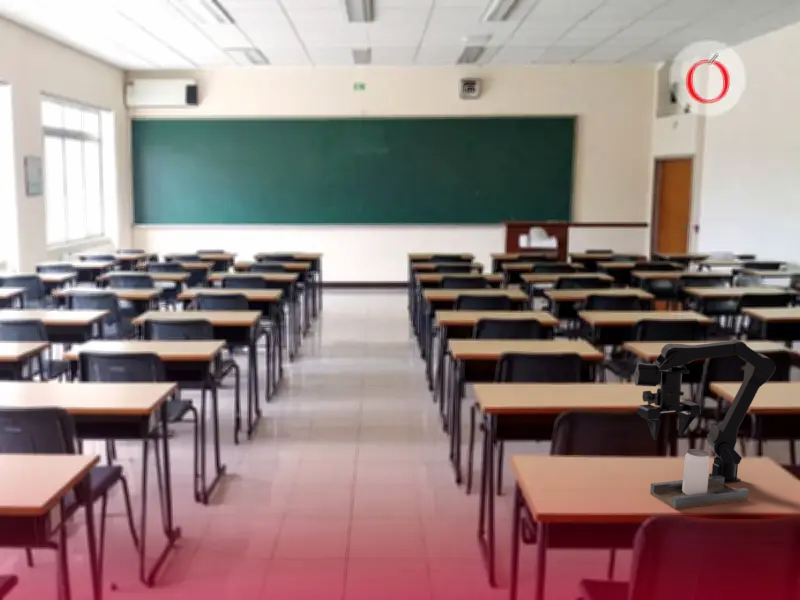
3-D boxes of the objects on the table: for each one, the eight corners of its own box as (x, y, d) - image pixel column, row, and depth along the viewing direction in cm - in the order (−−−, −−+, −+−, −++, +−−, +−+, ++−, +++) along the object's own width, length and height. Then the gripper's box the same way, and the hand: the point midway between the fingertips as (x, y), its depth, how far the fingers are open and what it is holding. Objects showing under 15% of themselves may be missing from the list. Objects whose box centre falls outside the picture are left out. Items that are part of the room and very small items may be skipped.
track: (720, 485, 219) (720, 475, 219) (747, 500, 209) (748, 489, 209) (650, 493, 212) (650, 483, 212) (675, 509, 202) (676, 498, 201)
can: (708, 499, 207) (712, 457, 205) (684, 496, 208) (687, 455, 206) (704, 490, 213) (707, 449, 211) (680, 488, 214) (683, 447, 212)
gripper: (678, 378, 233) (675, 426, 235) (627, 382, 227) (624, 432, 229) (703, 387, 222) (700, 438, 225) (650, 391, 216) (647, 443, 219)
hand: (667, 437), depth 224 cm, fingers open, 9 cm apart
